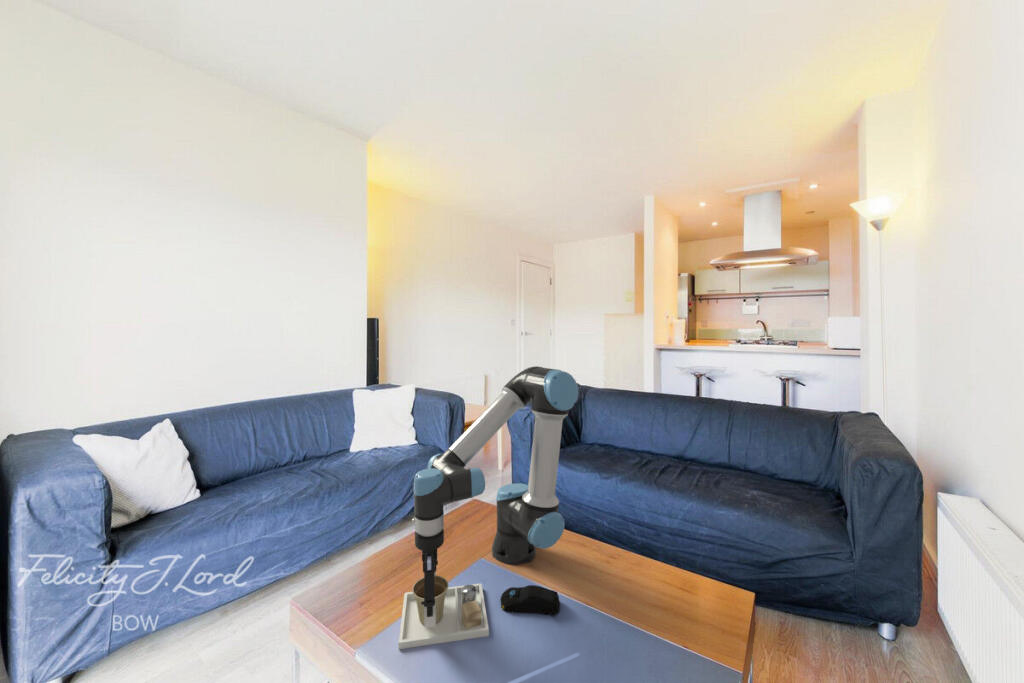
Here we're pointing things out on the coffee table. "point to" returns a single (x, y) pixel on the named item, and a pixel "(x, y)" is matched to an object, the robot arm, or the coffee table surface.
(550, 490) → the robot arm
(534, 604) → the toy car
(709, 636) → the coffee table surface
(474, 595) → the metal part
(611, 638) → the coffee table surface
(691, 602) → the coffee table surface
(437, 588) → the flower pot
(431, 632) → the tray
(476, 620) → the beech part
